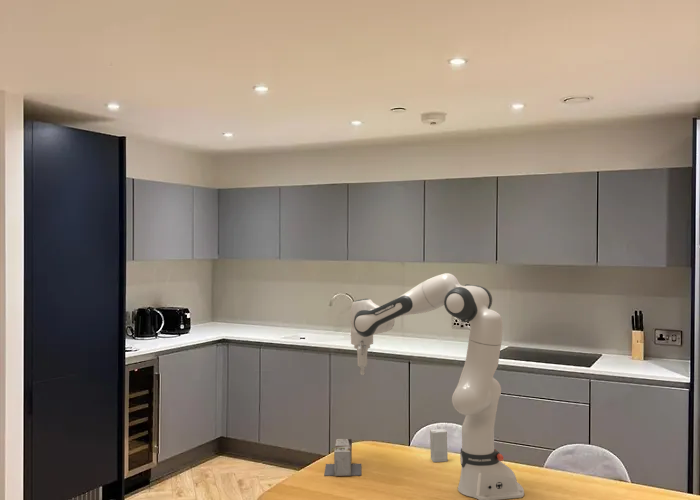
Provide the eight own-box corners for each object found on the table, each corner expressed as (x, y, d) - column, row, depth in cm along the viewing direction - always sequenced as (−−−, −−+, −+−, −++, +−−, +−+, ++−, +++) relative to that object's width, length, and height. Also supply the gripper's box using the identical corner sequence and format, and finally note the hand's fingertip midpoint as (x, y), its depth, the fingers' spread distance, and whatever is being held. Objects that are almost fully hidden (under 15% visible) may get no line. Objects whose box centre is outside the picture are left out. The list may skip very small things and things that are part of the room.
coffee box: (351, 451, 235) (351, 438, 251) (333, 451, 235) (335, 438, 251) (351, 476, 235) (352, 460, 251) (334, 476, 235) (335, 460, 251)
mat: (361, 464, 248) (361, 463, 248) (361, 475, 236) (361, 474, 236) (325, 464, 248) (325, 463, 248) (324, 476, 236) (324, 474, 236)
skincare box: (444, 458, 254) (444, 428, 254) (448, 461, 250) (447, 431, 250) (429, 459, 253) (429, 429, 253) (433, 462, 249) (432, 432, 249)
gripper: (370, 343, 240) (370, 379, 240) (369, 335, 261) (370, 369, 261) (353, 343, 240) (354, 379, 240) (354, 335, 261) (354, 369, 261)
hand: (362, 374), depth 251 cm, fingers closed
